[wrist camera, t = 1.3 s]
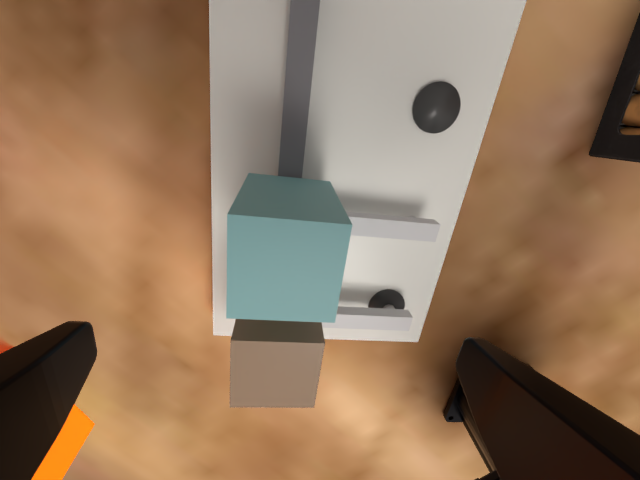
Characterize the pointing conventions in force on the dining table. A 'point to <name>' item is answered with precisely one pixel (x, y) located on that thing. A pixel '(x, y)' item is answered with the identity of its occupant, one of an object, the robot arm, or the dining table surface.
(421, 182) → the white base plate
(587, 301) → the dining table surface
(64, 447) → the orange juice
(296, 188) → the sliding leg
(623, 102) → the ammunition clip
